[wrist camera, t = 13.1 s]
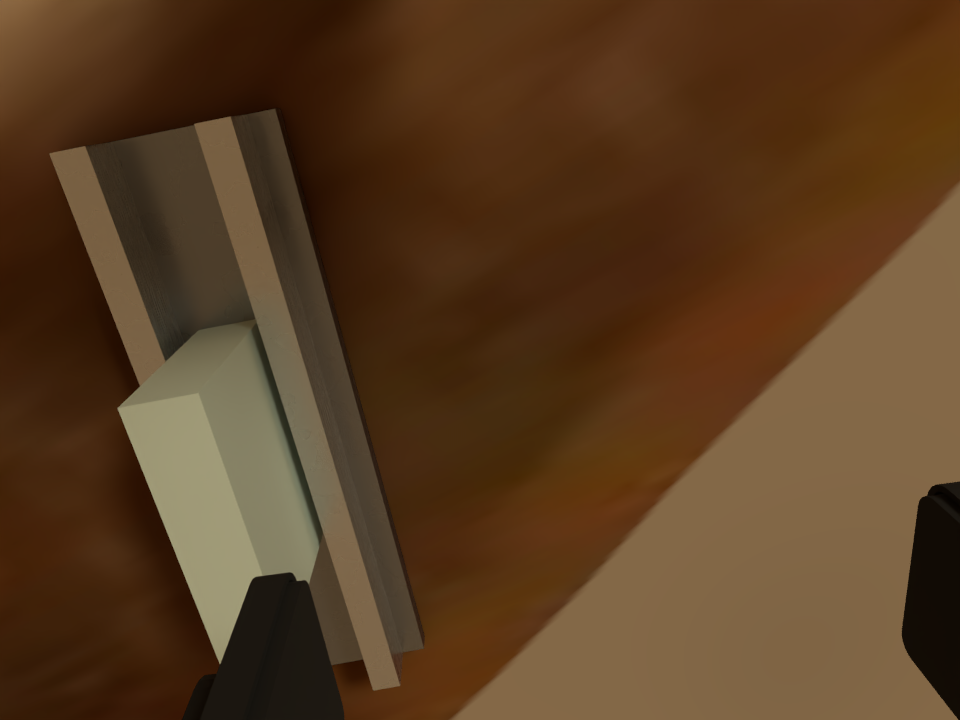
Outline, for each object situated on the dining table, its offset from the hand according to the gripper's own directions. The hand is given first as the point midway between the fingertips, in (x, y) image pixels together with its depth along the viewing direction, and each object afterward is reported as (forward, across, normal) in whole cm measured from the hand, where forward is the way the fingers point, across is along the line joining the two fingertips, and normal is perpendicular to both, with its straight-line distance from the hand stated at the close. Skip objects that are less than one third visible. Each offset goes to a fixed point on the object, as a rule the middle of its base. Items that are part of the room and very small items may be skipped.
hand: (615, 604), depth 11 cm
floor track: (+25, +13, +8) cm, 29 cm away
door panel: (+24, +13, +8) cm, 29 cm away
